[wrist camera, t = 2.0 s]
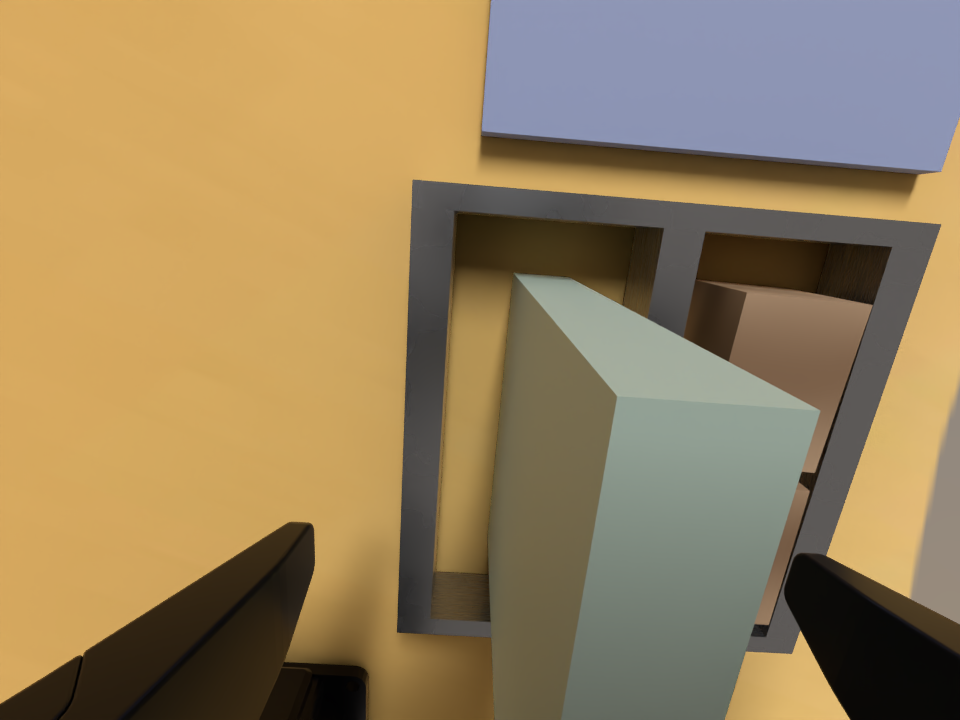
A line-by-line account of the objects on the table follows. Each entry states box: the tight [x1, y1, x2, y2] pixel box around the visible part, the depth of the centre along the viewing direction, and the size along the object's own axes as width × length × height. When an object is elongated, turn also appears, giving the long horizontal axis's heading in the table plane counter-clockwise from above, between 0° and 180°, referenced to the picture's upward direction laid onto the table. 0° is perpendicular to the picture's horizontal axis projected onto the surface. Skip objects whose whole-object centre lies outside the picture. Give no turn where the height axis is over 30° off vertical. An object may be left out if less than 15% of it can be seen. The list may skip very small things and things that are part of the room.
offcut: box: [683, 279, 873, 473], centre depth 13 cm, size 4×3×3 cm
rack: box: [397, 180, 941, 654], centre depth 13 cm, size 13×13×2 cm
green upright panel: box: [487, 273, 820, 720], centre depth 10 cm, size 9×2×10 cm, turn 176°
